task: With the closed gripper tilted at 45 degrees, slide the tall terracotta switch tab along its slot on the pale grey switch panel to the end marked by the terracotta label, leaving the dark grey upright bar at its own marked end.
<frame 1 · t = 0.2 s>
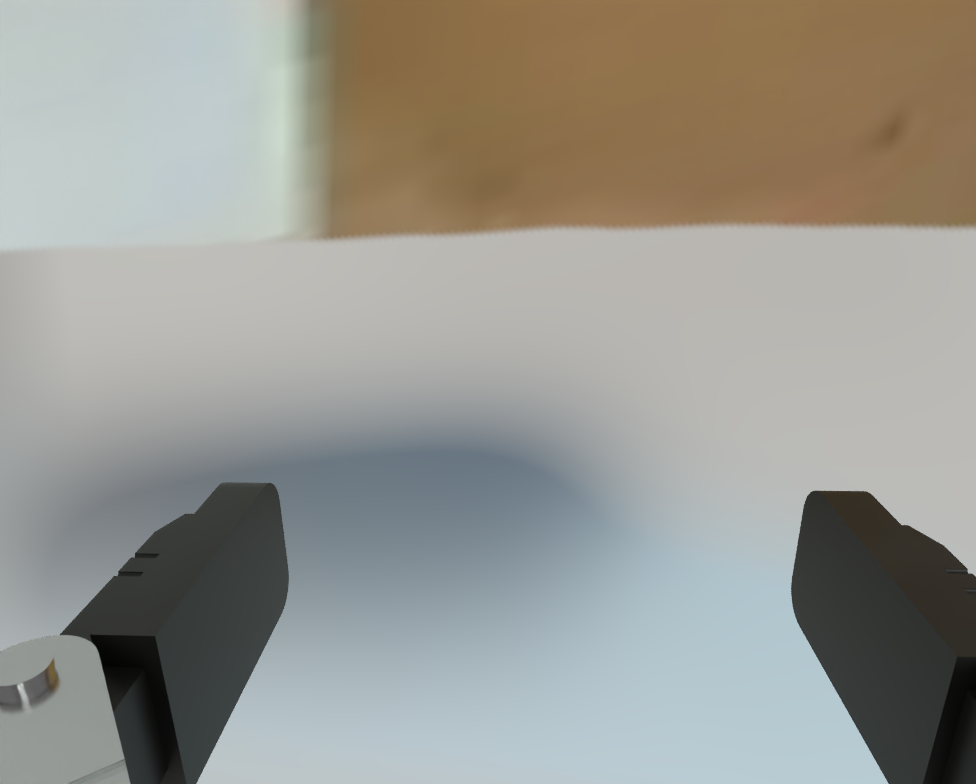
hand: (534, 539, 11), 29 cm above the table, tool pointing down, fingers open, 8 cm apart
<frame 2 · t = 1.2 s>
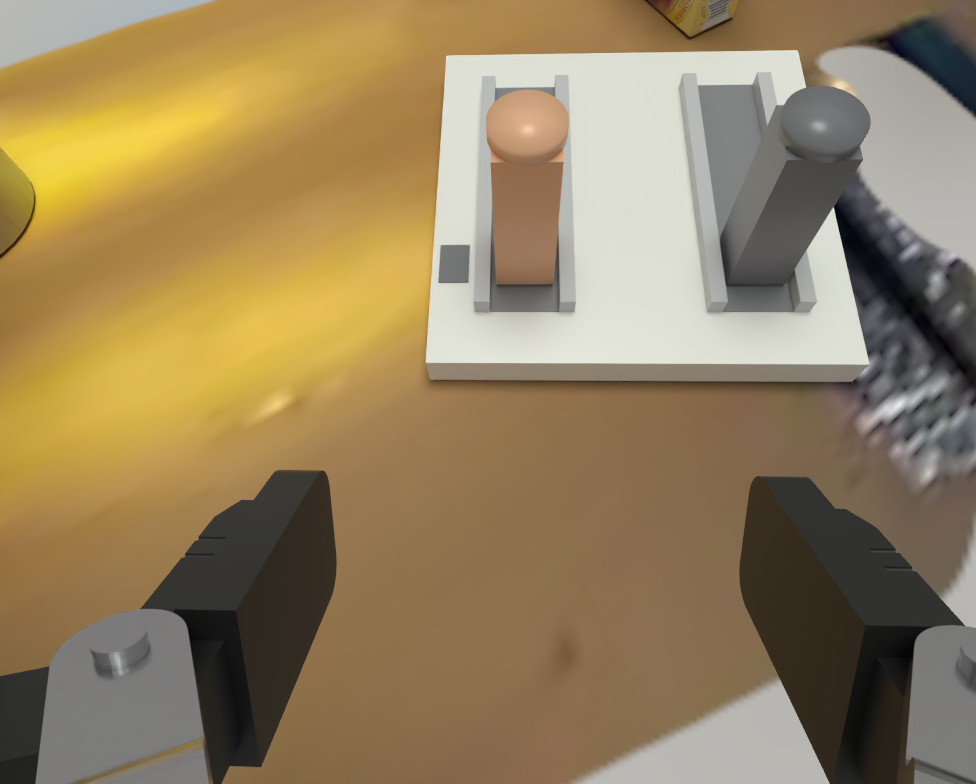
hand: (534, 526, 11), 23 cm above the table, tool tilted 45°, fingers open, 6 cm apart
dark grey upright bar: (784, 198, 33), point 7 cm above the table, slide at 0.0 cm
terracotta tab: (525, 199, 33), point 7 cm above the table, slide at 0.0 cm
switch panel: (625, 213, 41), on the table
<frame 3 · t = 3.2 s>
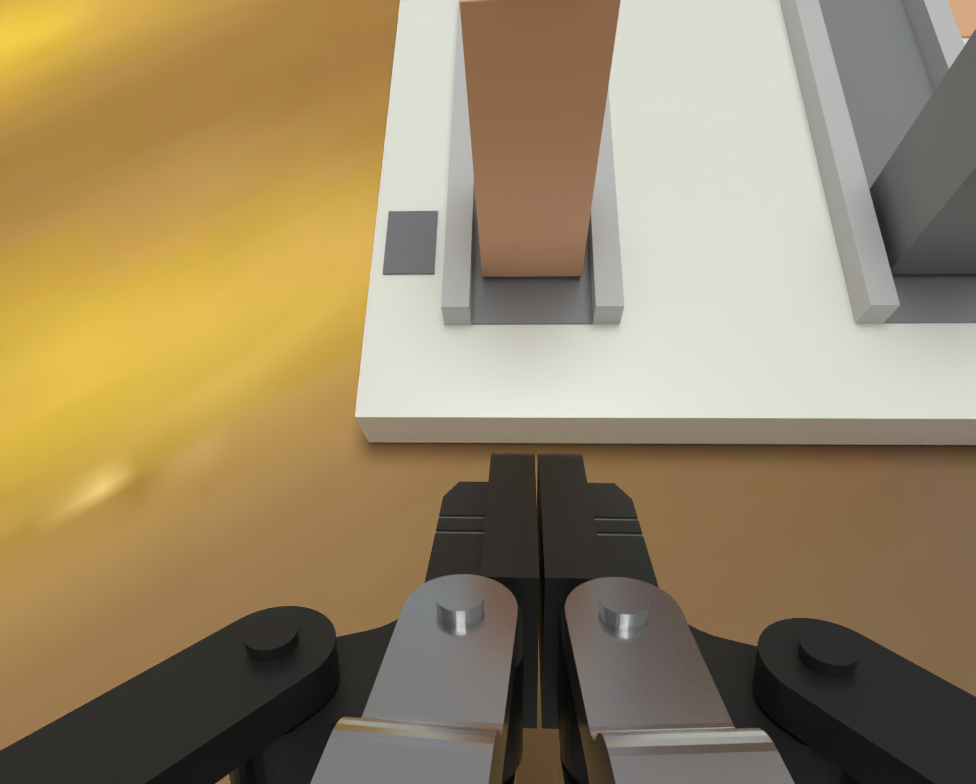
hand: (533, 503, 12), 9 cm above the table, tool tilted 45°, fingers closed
terracotta tab: (534, 112, 17), point 7 cm above the table, slide at 0.0 cm
switch panel: (692, 163, 26), on the table
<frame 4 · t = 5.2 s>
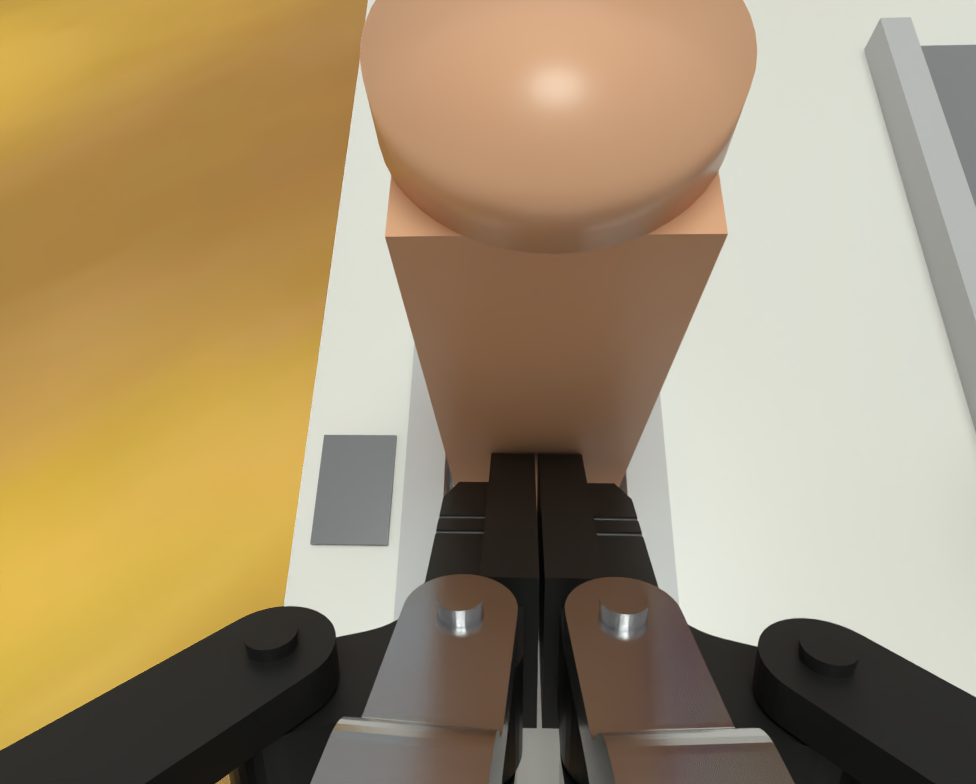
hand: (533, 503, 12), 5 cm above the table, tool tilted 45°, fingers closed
terracotta tab: (540, 324, 10), point 7 cm above the table, slide at 1.0 cm, touching gripper
switch panel: (759, 331, 18), on the table
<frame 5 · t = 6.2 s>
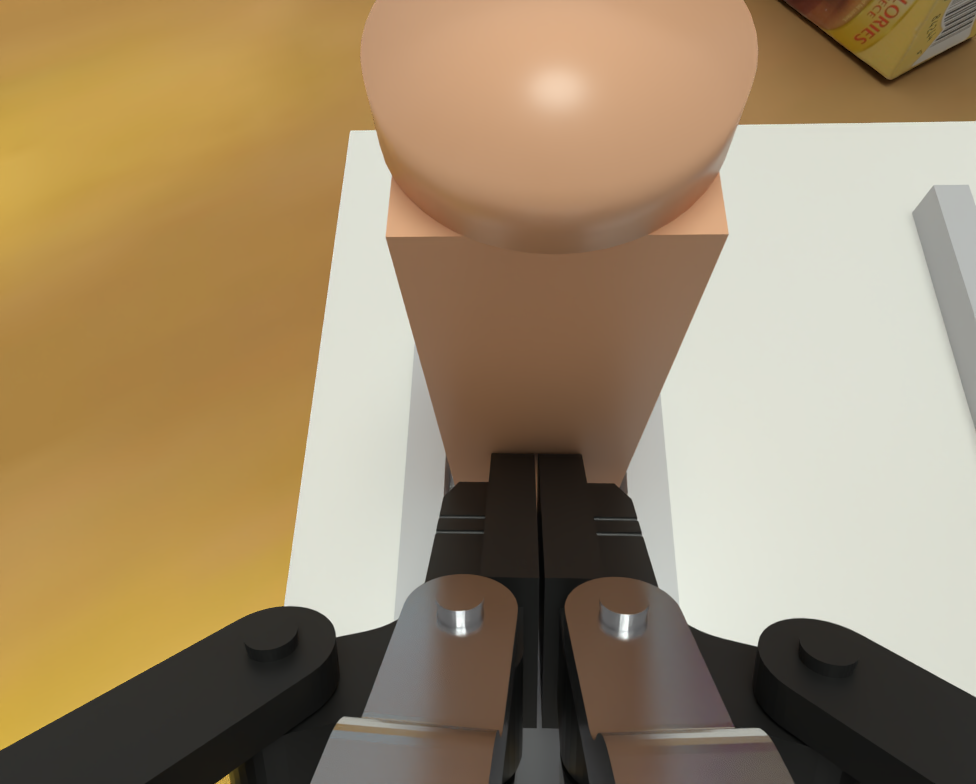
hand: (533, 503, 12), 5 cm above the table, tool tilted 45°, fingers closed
terracotta tab: (540, 325, 10), point 7 cm above the table, slide at 6.8 cm, touching gripper
switch panel: (796, 551, 16), on the table
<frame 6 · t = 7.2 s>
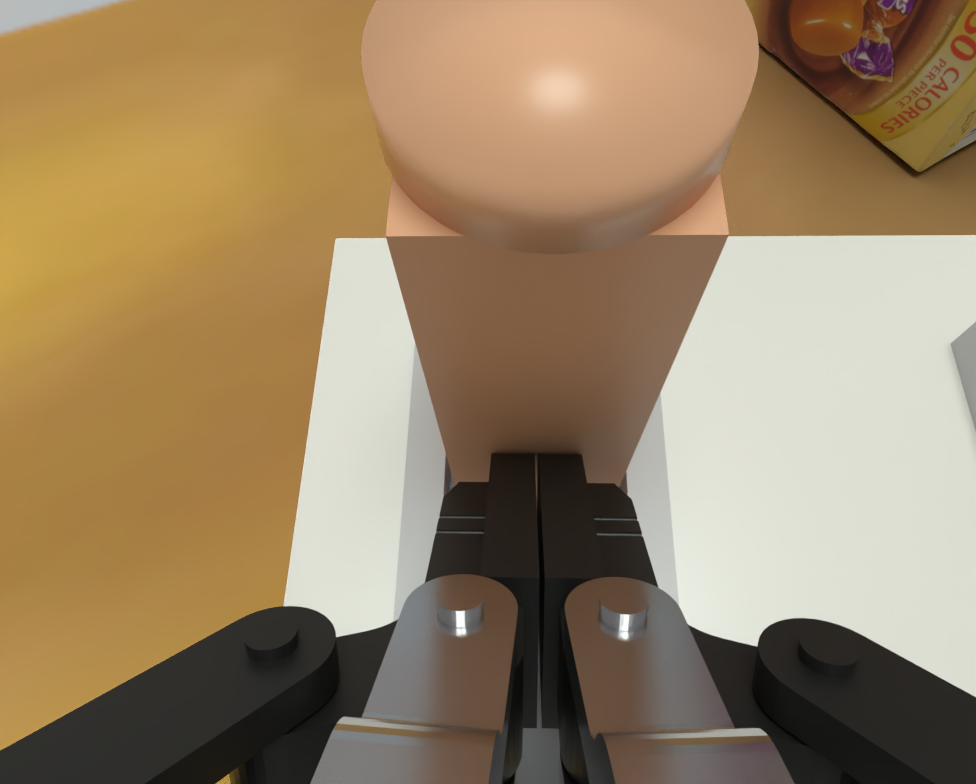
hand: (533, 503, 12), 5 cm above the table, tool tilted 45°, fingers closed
candy box: (856, 67, 23), on the table
terracotta tab: (540, 324, 10), point 7 cm above the table, slide at 10.4 cm, touching gripper
switch panel: (824, 730, 14), on the table
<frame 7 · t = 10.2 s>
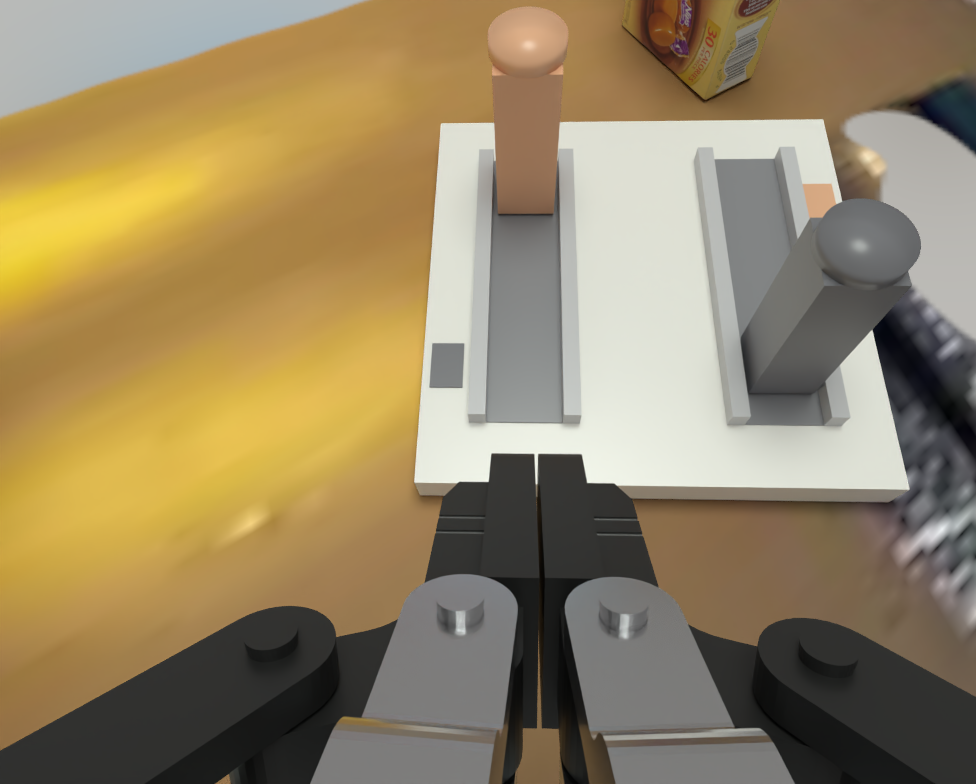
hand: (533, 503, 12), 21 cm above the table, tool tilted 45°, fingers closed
candy box: (685, 52, 46), on the table
dark grey upright bar: (816, 310, 29), point 7 cm above the table, slide at 0.0 cm
terracotta tab: (526, 123, 34), point 7 cm above the table, slide at 10.6 cm
switch panel: (635, 301, 38), on the table
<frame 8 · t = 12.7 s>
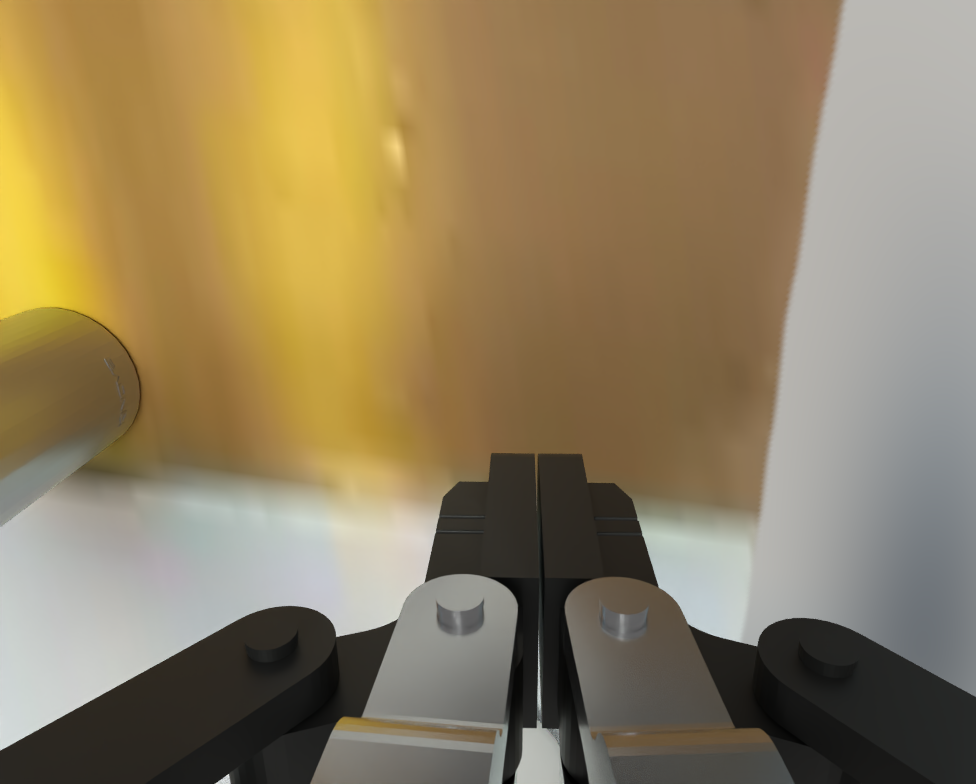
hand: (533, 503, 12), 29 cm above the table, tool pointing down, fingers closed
flower in vase: (494, 750, 52), on the table
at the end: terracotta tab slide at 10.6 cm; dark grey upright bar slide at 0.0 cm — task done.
